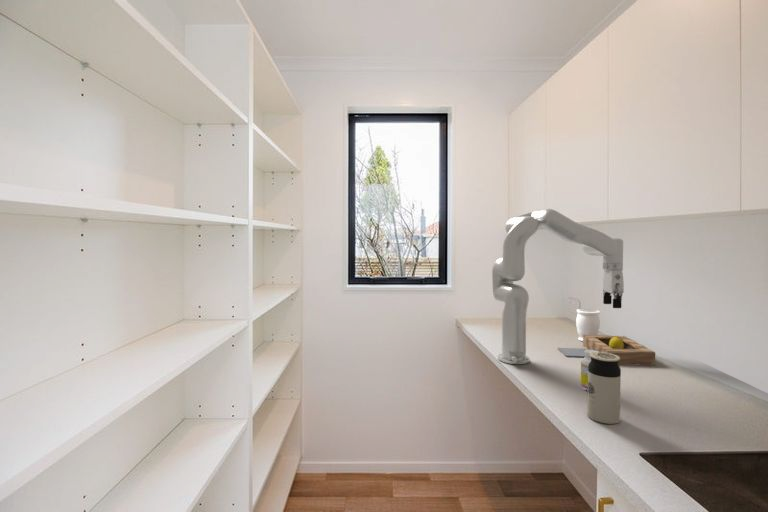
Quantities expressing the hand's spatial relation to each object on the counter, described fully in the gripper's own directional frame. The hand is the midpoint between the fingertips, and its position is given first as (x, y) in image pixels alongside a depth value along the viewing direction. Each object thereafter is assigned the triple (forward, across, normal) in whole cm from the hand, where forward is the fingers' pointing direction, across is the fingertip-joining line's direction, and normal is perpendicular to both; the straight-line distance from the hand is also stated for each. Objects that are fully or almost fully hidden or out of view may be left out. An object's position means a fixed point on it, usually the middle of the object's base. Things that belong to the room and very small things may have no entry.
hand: (612, 305), depth 171 cm
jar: (+21, +22, +2) cm, 30 cm away
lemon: (+21, -1, -1) cm, 21 cm away
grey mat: (+21, -2, +15) cm, 26 cm away
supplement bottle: (+21, -44, +24) cm, 54 cm away
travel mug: (+21, -66, +28) cm, 75 cm away
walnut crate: (+21, -1, -1) cm, 21 cm away
